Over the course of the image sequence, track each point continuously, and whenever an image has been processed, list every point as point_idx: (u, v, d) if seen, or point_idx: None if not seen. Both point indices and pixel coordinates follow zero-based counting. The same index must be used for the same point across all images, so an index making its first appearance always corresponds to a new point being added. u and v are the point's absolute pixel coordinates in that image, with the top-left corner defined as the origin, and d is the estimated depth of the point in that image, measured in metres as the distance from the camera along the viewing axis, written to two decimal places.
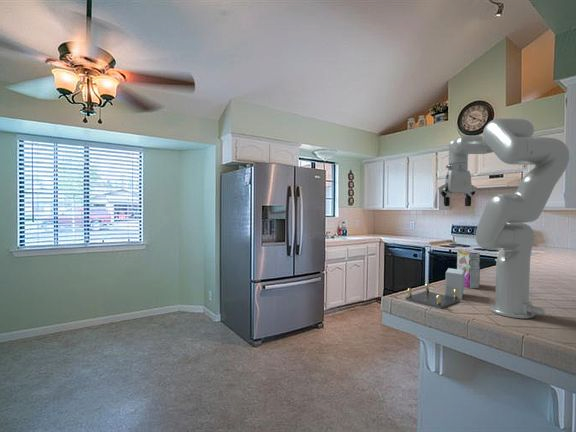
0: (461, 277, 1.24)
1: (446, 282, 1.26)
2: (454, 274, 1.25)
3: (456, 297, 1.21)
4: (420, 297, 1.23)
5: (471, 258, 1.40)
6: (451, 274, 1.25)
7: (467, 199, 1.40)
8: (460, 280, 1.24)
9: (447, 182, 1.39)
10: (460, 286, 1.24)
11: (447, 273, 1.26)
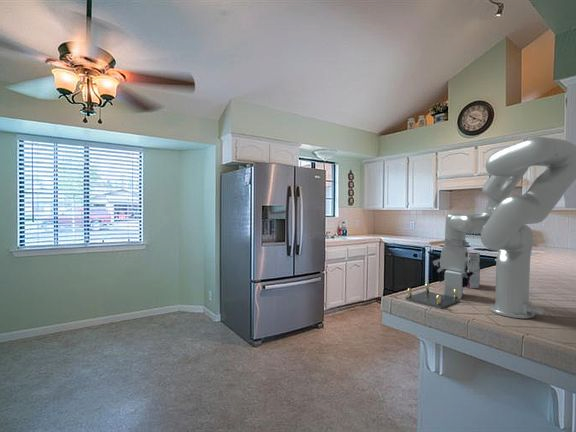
0: (460, 277, 1.24)
1: (445, 282, 1.27)
2: (453, 274, 1.25)
3: (456, 297, 1.21)
4: (420, 297, 1.23)
5: (471, 258, 1.40)
6: (450, 274, 1.26)
7: (442, 274, 1.34)
8: (459, 280, 1.24)
9: (467, 260, 1.26)
10: (459, 286, 1.24)
11: (446, 273, 1.26)
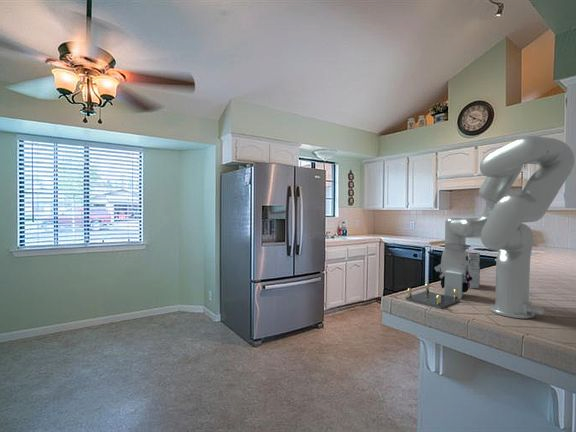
0: (460, 277, 1.24)
1: (445, 281, 1.27)
2: (453, 274, 1.25)
3: (456, 297, 1.21)
4: (420, 297, 1.23)
5: (471, 258, 1.40)
6: (450, 274, 1.26)
7: None
8: (459, 280, 1.24)
9: (468, 264, 1.26)
10: (459, 286, 1.24)
11: (446, 273, 1.26)
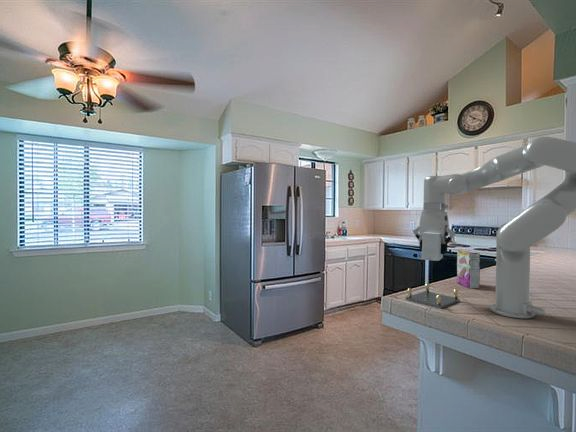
0: (438, 237, 1.16)
1: (423, 243, 1.19)
2: (431, 234, 1.18)
3: (456, 297, 1.21)
4: (420, 297, 1.23)
5: (471, 258, 1.40)
6: (428, 234, 1.18)
7: None
8: (437, 240, 1.17)
9: (447, 225, 1.18)
10: (437, 247, 1.17)
11: (424, 234, 1.19)
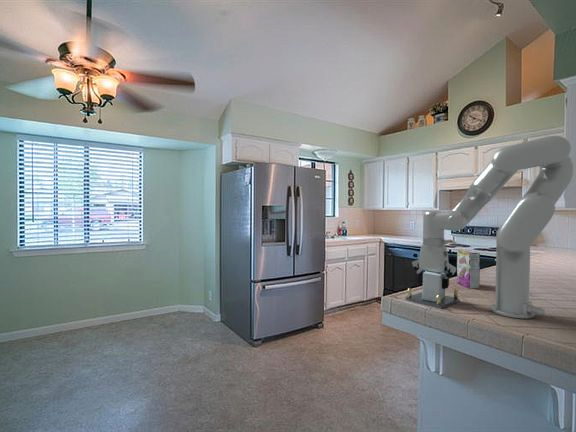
0: (438, 278, 1.16)
1: (423, 283, 1.20)
2: (431, 275, 1.18)
3: (456, 297, 1.21)
4: (420, 297, 1.23)
5: (471, 258, 1.40)
6: (428, 275, 1.19)
7: (422, 276, 1.26)
8: (437, 282, 1.17)
9: (446, 260, 1.18)
10: (437, 288, 1.17)
11: (424, 274, 1.19)
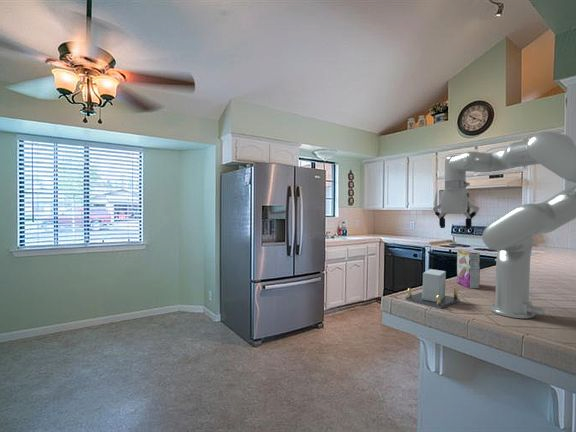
0: (438, 278, 1.16)
1: (423, 283, 1.20)
2: (431, 275, 1.18)
3: (456, 297, 1.21)
4: (420, 297, 1.23)
5: (471, 258, 1.40)
6: (428, 275, 1.19)
7: (444, 220, 1.30)
8: (437, 282, 1.17)
9: (469, 201, 1.23)
10: (437, 288, 1.17)
11: (424, 274, 1.19)
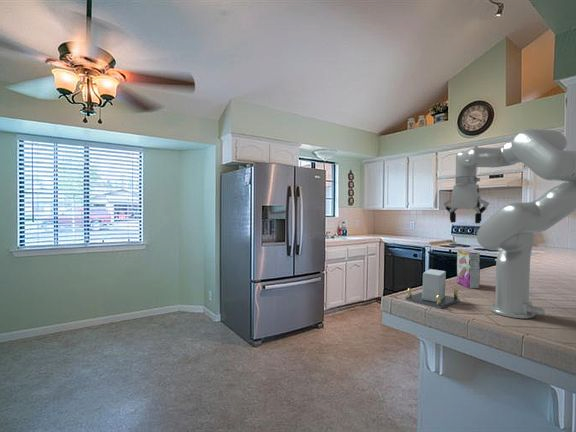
0: (438, 278, 1.16)
1: (423, 283, 1.20)
2: (431, 275, 1.18)
3: (456, 297, 1.21)
4: (420, 297, 1.23)
5: (471, 258, 1.40)
6: (428, 275, 1.19)
7: (454, 215, 1.33)
8: (437, 282, 1.17)
9: (479, 197, 1.26)
10: (437, 288, 1.17)
11: (424, 274, 1.19)
